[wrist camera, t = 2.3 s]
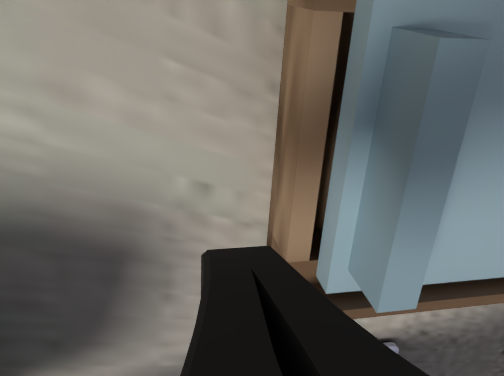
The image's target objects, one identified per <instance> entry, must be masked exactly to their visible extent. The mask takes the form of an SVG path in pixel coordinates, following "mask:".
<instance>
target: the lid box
mask: <svg viewBox="0 0 504 376" xmlns="http://www.w3.org/2000/svg"><path fill="white" fill-rule="evenodd" d="M356 1H357V0H288V3H287V15H286V27H285V38H284V50H283V62H282V73H281V85H280V96H279V108H278V120H277V131H276V143H275V155H274V166H273V178H272V190H271V201H270V213H269V224H268V236H267V246H271V247H272V248H273V249H274V250H275V251H276V252H277V253H278V254H279V255H280V256H281V257H283V258H284V259H285V260H286V261H287V262H288V263H289V264H290V265H291V266H292V267H293V268H294V269H295V270H296V271H298V272H299V273H300V274H301V275H302V276H303V277H304V278H305V279H306V280H307V281H308V282H310V283H311V284H312V285H313V286H314V287H315V288H316V289H317V290H318V291H320V292H321V293H322V294H323V295H324V296H325V297H326V298H328V299H329V300H330V301H331V302H332V303H333V304H335V305H336V306H337V307H338V308H339V309H340V310H342V311H343V312H344V313H345V314H346V315H348V316H349V317H350V318H351V319H358V318H368V317H377V316H386V315H395V314H405V313H414V312H423V311H432V310H441V309H451V308H460V307H469V306H478V305H488V304H497V303H504V277H501V278H490V279H480V280H469V281H458V282H448V283H437V284H426V285H423V286H422V289H421V293H420V296H419V300H418V304H417V307H416V309H410V310H401V311H391V312H382V313H376V311H375V310H374V308H373V307H372V305H371V304H370V302H369V301H368V299H367V298H366V296H365V295H364V293H363V292H362V291H352V292H341V293H330V294H326V293H325V291H324V289H323V288H322V286H321V284H320V282H319V280H318V279H317V277H316V272H317V265H318V259H319V252H320V245H321V238H322V232H323V225H324V218H325V211H326V204H327V198H328V191H329V184H330V177H331V171H332V164H333V157H334V150H335V143H336V137H337V130H338V123H339V116H340V110H341V103H342V96H343V89H344V82H345V76H346V69H347V62H348V55H349V49H350V42H351V35H352V28H353V22H354V15H355V8H356Z"/></svg>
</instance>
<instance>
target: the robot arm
mask: <svg viewBox="0 0 504 376" xmlns="http://www.w3.org/2000/svg"><path fill="white" fill-rule="evenodd" d="M398 353H399V348H398V347H397V345H396V344H395V343H393V342H387V343H382V342H381V341H380V340H378V339H377V338H376V337H374V336H373V335H372V334H370V333H369V332H368V331H367V330H365V329H364V328H363V327H361V326H360V325H359V324H358V323H356V322H355V321H354V320H353V319H351V318H350V317H349V316H348V315H346V314H345V313H344V312H343V311H342V310H340V309H339V308H338V307H337V306H336V305H335V304H333V303H332V302H331V301H330V300H329V299H328V298H326V297H325V296H324V295H323V294H322V293H321V292H320V291H318V290H317V289H316V288H315V287H314V286H313V285H312V284H311V283H310V282H308V281H307V280H306V279H305V278H304V277H303V276H302V275H301V274H300V273H299V272H298V271H296V270H295V269H294V268H293V267H292V266H291V265H290V264H289V263H288V262H287V261H286V260H285V259H284V258H283V257H281V256H280V255H279V254H278V253H277V252H276V251H275V250H274V249H273V248H272V247H271V246H259V247H244V248H229V249H214V250H207V251H206V252H205V253H204V254H203V255H201V301H200V305H199V310H198V315H197V320H196V324H195V328H194V332H193V336H192V339H191V343H190V346H189V349H188V353H187V356H186V359H185V363H184V366H183V369H182V372H181V375H180V376H429V375H428V374H426V373H425V372H423V371H422V370H420V369H419V368H417V367H416V366H414V365H413V364H411V363H410V362H408V361H407V360H405V359H404V358H403V357H401V356H400V355H398Z"/></svg>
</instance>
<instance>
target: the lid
mask: <svg viewBox="0 0 504 376" xmlns="http://www.w3.org/2000/svg"><path fill="white" fill-rule="evenodd" d="M316 277H317V279H318V280H319V282H320V284H321V286H322V288H323V289H324V291H325V293H326V294H330V293H341V292H352V291H362V292H363V293H364V295H365V296H366V298H367V299H368V301H369V302H370V304H371V305H372V307H373V308H374V310H375V311H376V313H382V312H391V311H401V310H410V309H416V307H417V304H418V300H419V296H420V293H421V289H422V286H423V285H426V284H437V283H448V282H458V281H469V280H480V279H490V278H501V277H504V0H357V1H356V8H355V15H354V22H353V28H352V35H351V42H350V49H349V55H348V62H347V69H346V76H345V82H344V89H343V96H342V103H341V110H340V116H339V123H338V130H337V137H336V143H335V150H334V157H333V164H332V171H331V177H330V184H329V191H328V198H327V204H326V211H325V218H324V225H323V232H322V238H321V245H320V252H319V259H318V265H317V272H316Z"/></svg>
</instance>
